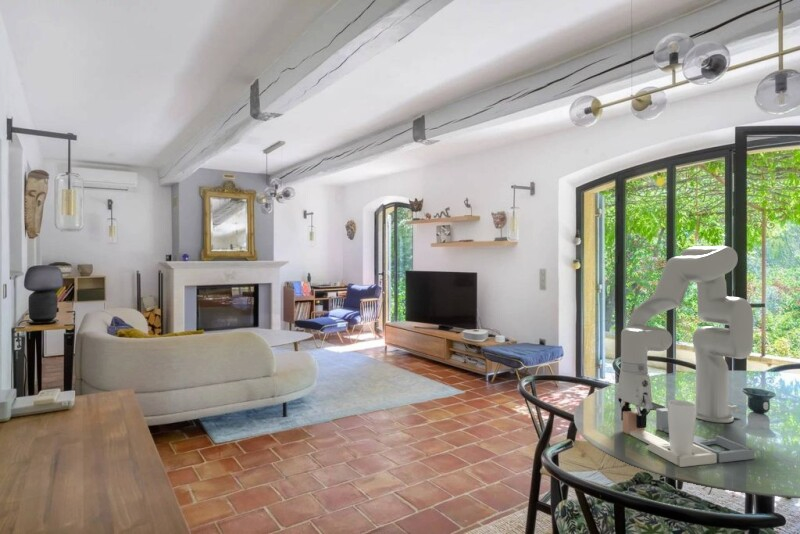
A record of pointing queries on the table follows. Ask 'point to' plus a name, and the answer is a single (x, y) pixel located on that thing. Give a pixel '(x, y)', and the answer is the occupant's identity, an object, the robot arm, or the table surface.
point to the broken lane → (710, 441)
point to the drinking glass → (681, 426)
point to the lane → (666, 445)
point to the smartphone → (656, 406)
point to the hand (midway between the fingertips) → (633, 423)
